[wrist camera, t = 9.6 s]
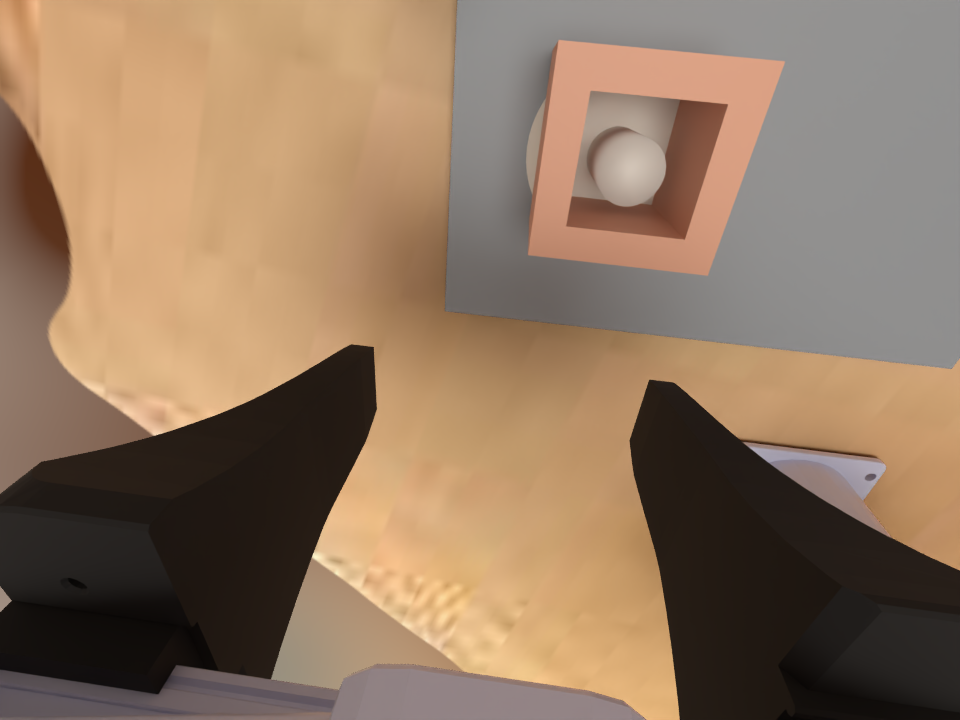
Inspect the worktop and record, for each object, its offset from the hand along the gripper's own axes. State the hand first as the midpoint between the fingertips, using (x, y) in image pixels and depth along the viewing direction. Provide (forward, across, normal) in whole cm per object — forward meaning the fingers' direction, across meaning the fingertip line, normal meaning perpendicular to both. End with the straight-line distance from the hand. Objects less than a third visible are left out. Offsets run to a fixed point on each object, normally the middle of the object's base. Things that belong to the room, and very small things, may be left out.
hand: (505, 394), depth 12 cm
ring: (+8, -3, -5) cm, 10 cm away
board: (+10, -8, -5) cm, 14 cm away
